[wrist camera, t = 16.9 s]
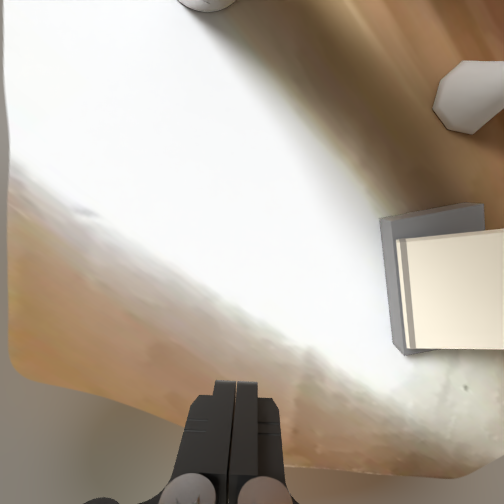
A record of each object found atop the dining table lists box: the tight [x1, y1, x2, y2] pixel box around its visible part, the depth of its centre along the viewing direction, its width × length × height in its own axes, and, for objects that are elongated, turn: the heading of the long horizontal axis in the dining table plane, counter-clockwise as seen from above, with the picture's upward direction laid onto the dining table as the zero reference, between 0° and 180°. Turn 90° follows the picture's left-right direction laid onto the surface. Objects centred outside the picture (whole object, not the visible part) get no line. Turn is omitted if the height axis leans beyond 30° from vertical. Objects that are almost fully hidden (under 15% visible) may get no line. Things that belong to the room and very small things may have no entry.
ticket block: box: [379, 202, 485, 356], centre depth 38 cm, size 16×10×3 cm, turn 11°
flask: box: [432, 61, 504, 134], centre depth 30 cm, size 7×7×10 cm
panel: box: [396, 229, 504, 349], centre depth 32 cm, size 12×2×16 cm
